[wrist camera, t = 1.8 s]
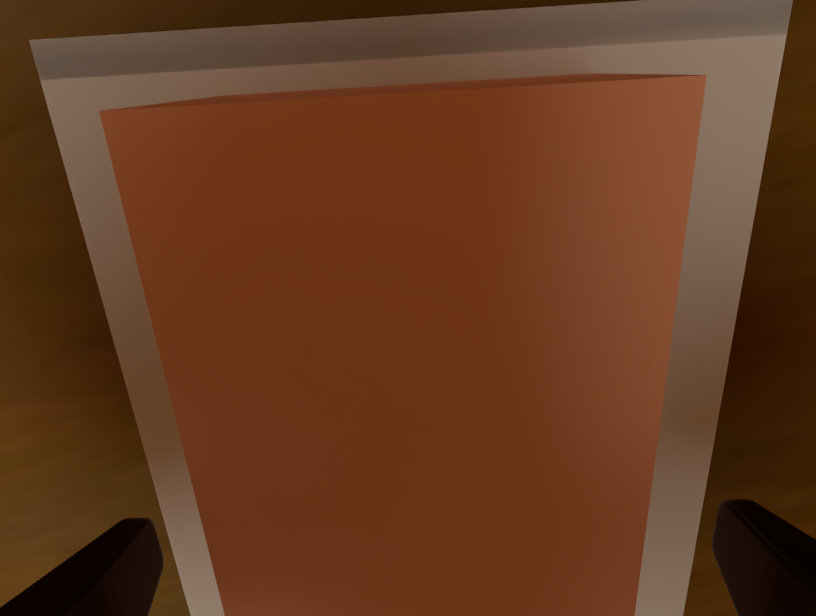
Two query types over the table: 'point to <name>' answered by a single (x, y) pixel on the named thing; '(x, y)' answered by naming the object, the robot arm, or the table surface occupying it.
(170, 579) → the table surface
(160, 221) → the terracotta rectangular block
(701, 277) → the book pile base
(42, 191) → the table surface
